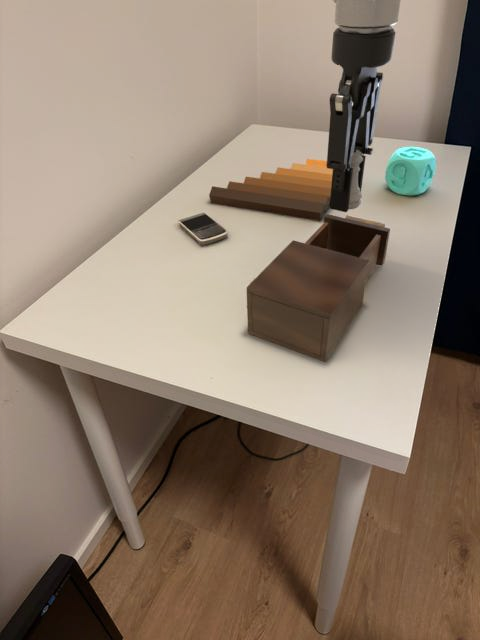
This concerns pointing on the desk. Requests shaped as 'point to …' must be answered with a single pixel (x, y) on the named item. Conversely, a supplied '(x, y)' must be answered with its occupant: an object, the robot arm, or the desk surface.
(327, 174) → the pan flute
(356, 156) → the rook chess piece
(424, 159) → the decorative dice
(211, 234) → the cell phone
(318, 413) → the desk surface
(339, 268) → the cabinet
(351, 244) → the drawer
